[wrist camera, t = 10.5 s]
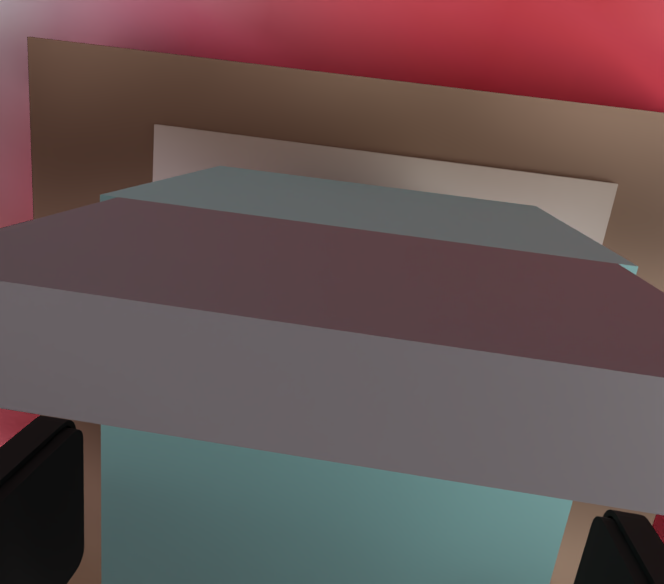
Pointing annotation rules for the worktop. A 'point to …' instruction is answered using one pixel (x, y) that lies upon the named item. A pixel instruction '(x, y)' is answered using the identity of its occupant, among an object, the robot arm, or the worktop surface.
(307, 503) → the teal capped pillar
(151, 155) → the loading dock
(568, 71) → the worktop surface
